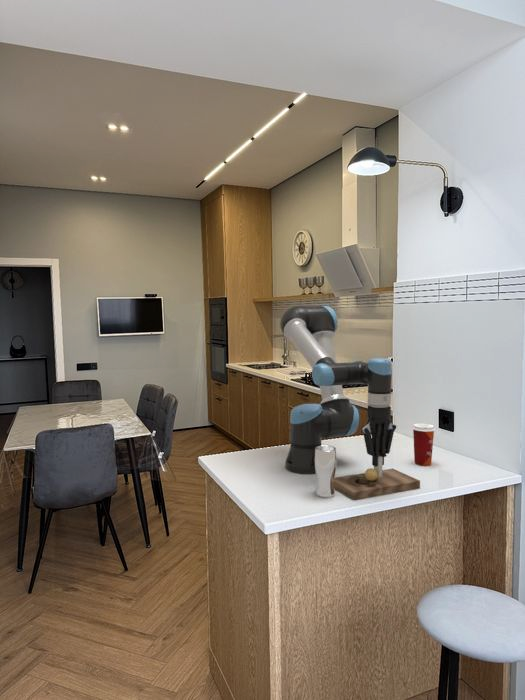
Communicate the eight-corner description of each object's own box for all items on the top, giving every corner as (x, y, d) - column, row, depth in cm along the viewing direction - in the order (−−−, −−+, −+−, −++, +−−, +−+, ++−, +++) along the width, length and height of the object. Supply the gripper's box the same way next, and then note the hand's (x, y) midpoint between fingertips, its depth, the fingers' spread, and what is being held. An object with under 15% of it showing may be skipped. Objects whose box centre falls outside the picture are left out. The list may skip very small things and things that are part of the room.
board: (353, 500, 152) (353, 492, 151) (330, 485, 164) (330, 478, 164) (419, 488, 162) (420, 480, 162) (392, 475, 175) (392, 468, 175)
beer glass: (321, 488, 162) (322, 444, 160) (340, 493, 157) (340, 447, 156) (310, 494, 156) (310, 448, 155) (328, 500, 152) (329, 452, 151)
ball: (374, 464, 162) (379, 473, 163) (363, 467, 164) (368, 476, 165) (373, 472, 159) (379, 481, 160) (362, 475, 161) (367, 484, 162)
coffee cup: (435, 467, 183) (436, 428, 182) (412, 466, 185) (413, 427, 184) (432, 461, 191) (433, 423, 190) (410, 459, 193) (411, 422, 192)
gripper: (370, 409, 156) (368, 481, 157) (402, 405, 161) (400, 475, 163) (356, 404, 162) (355, 474, 164) (387, 401, 168) (386, 469, 170)
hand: (377, 475), depth 164 cm, fingers closed
